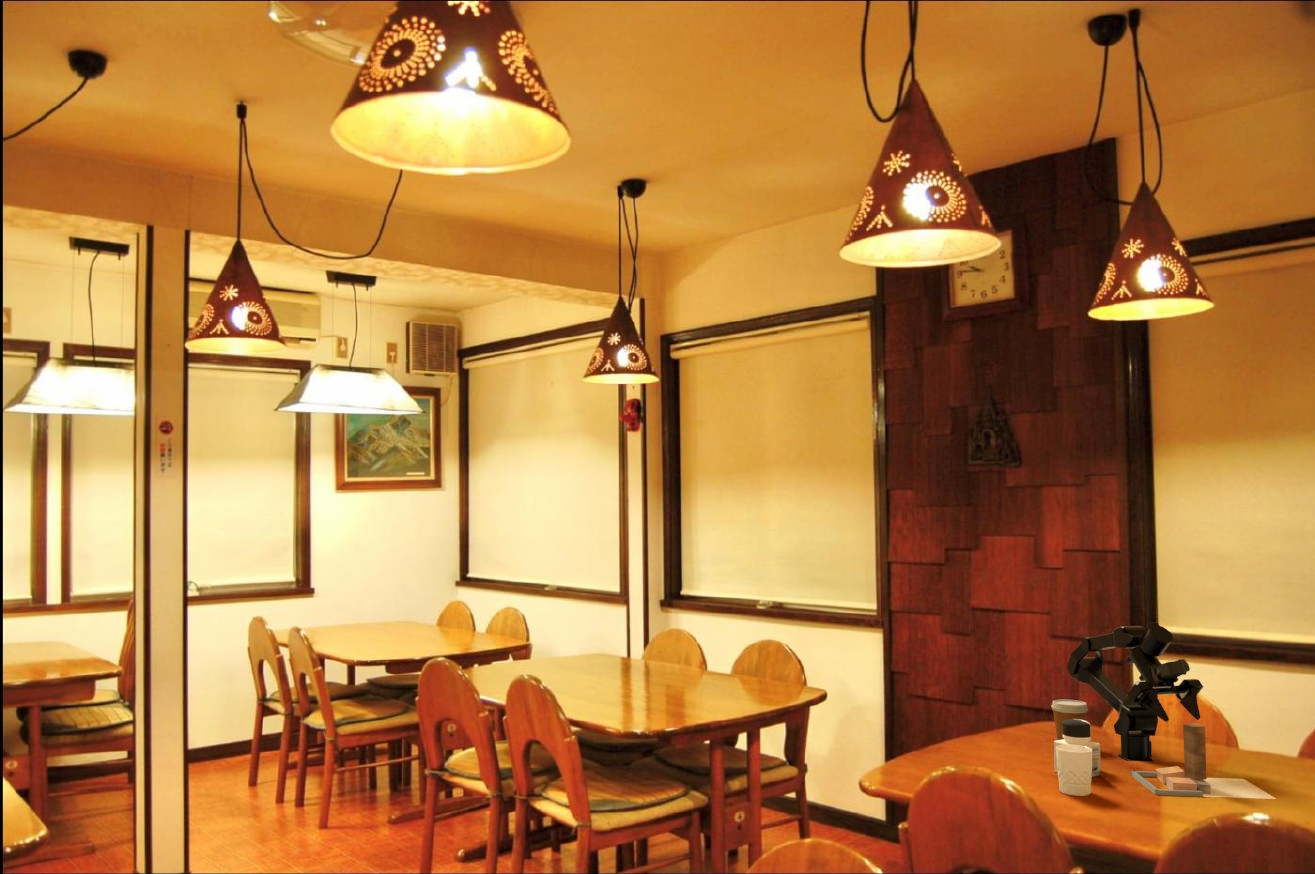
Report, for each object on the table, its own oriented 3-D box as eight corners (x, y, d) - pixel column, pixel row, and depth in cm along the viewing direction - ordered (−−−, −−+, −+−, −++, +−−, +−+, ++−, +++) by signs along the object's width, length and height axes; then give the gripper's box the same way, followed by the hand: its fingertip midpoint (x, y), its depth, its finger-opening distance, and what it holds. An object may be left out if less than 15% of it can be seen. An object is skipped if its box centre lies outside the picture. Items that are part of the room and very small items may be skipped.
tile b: (1180, 778, 247) (1177, 765, 247) (1187, 784, 242) (1184, 771, 242) (1158, 781, 248) (1155, 768, 248) (1164, 786, 243) (1161, 773, 243)
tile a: (1190, 791, 239) (1189, 777, 240) (1197, 797, 234) (1196, 783, 235) (1166, 789, 240) (1166, 776, 240) (1173, 795, 235) (1173, 782, 236)
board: (1243, 783, 247) (1243, 778, 247) (1276, 804, 230) (1276, 798, 230) (1174, 781, 249) (1174, 776, 249) (1202, 801, 232) (1202, 796, 232)
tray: (1174, 781, 249) (1174, 772, 249) (1202, 801, 232) (1202, 791, 232) (1131, 779, 250) (1131, 770, 251) (1155, 799, 234) (1155, 789, 234)
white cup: (1050, 787, 243) (1049, 744, 244) (1082, 787, 244) (1082, 743, 245) (1066, 797, 236) (1065, 752, 236) (1100, 796, 236) (1098, 751, 237)
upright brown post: (1196, 779, 246) (1194, 720, 247) (1214, 793, 234) (1212, 730, 235) (1177, 779, 247) (1176, 719, 248) (1195, 793, 235) (1193, 730, 236)
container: (1079, 779, 251) (1078, 724, 252) (1053, 771, 258) (1052, 718, 259) (1101, 775, 255) (1100, 721, 255) (1075, 768, 261) (1074, 715, 262)
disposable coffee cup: (1073, 752, 278) (1072, 706, 279) (1044, 744, 286) (1043, 700, 287) (1096, 748, 283) (1095, 703, 284) (1067, 741, 291) (1066, 697, 292)
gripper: (1134, 649, 259) (1167, 702, 247) (1196, 646, 264) (1232, 698, 252) (1113, 676, 266) (1145, 728, 254) (1174, 673, 271) (1208, 724, 259)
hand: (1183, 719), depth 255 cm, fingers open, 9 cm apart
